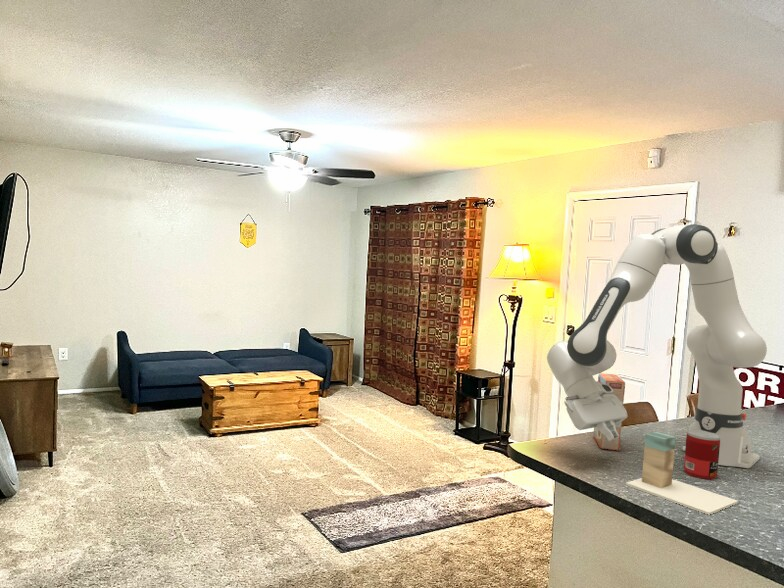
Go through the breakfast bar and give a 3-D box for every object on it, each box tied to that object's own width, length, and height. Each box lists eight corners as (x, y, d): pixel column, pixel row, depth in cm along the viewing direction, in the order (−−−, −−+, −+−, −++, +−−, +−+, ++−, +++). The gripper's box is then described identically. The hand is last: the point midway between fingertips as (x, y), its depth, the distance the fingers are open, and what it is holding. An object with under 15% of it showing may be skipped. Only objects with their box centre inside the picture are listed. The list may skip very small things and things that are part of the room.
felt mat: (656, 476, 152) (656, 473, 152) (737, 503, 135) (738, 500, 135) (625, 484, 143) (625, 482, 143) (709, 515, 127) (709, 512, 127)
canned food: (716, 482, 150) (719, 439, 149) (682, 474, 154) (685, 433, 154) (717, 474, 156) (721, 433, 156) (684, 467, 161) (688, 428, 160)
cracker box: (620, 451, 172) (626, 381, 171) (599, 449, 173) (604, 379, 172) (612, 439, 185) (617, 374, 185) (592, 436, 187) (597, 372, 186)
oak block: (652, 478, 148) (656, 431, 147) (671, 484, 144) (675, 436, 143) (641, 481, 145) (645, 433, 144) (661, 488, 141) (664, 439, 140)
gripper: (569, 391, 153) (599, 437, 146) (614, 385, 165) (643, 428, 158) (554, 404, 157) (582, 450, 150) (599, 398, 169) (627, 440, 162)
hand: (614, 438), depth 154 cm, fingers closed
